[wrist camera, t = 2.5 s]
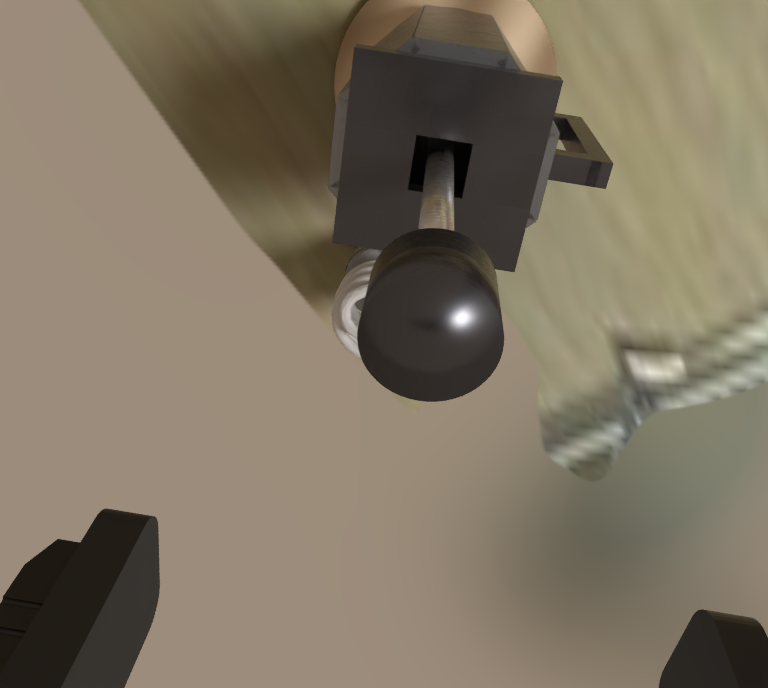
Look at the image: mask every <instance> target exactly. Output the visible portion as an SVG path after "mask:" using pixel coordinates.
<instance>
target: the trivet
mask: <svg viewBox="0 0 768 688" xmlns="http://www.w3.org/2000/svg"><path fill="white" fill-rule="evenodd" d="M426 4H427V5H433V6H439V7H452V8H460V9H465V10H469V11H471V12H476V13H482V14H489V15H492V16H493V17H494V19H495V20H496V22H497V24H498V25H499V27H500V28H501V30H502V32H503V33H504V35H505V36H506V38H507V40H508V41H509V43H510V44H511V46H512V48H513V49H514V51H515V53H516V54H517V56H518V57H519V59H520V61H521V62H522V64H523V65H524V67H525V69H526V70H527V71H528V72H535V73H541V74H547V75H553V76H557V67H556V59H555V54H554V49H553V46H552V43H551V40H550V37H549V34H548V32H547V30H546V28H545V26H544V24H543V22H542V20H541V18H540V16H539V15H538V14H537V12H536V11H535V9H534V8H533V6H532V5H531V4H530V3H529V2H528V1H527V0H368V1H367V2H366V3H365V5H364V6H363V7H362V8H361V10H360V11H359V12H358V13H357V15H356V16H355V18H354V19H353V21H352V23H351V24H350V26H349V28H348V29H347V32H346V34H345V36H344V39H343V41H342V43H341V47H340V50H339V53H338V57H337V62H336V68H335V78H334V93H335V103H336V100H337V97H338V95H339V93H340V92H341V91H342V89H343V88H344V86H345V85H346V83H347V82H348V81H349V79H350V78H351V70H352V61H353V52H354V47H355V45H356V44H362V45H368V46H374V45H375V44H376V43H378V42H379V41H380V40H381V39H383V38H384V37H385V36H386V35H388V34H389V33H390V32H391V31H392V30H393V29H394V28H396V27H397V26H398V25H399V24H400V23H402V22H403V21H404V20H406V19H407V18H409V17H410V16H411V15H412V14H414V13H415V12H416V11H417V10H419V9H420V8H421V7H422V6H424V5H426Z"/></svg>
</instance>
